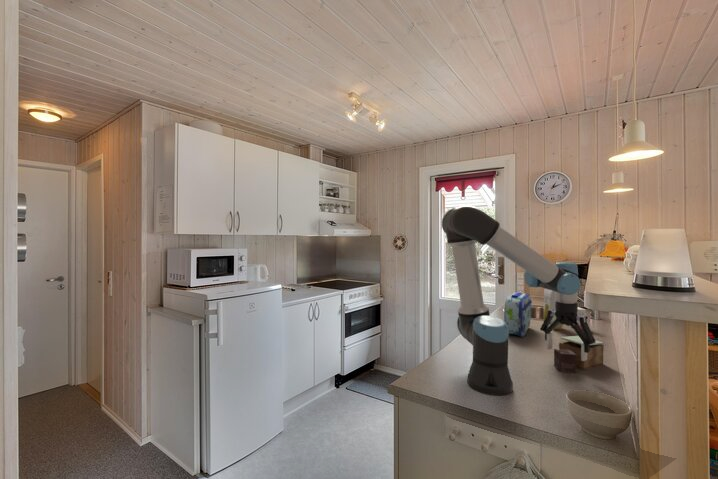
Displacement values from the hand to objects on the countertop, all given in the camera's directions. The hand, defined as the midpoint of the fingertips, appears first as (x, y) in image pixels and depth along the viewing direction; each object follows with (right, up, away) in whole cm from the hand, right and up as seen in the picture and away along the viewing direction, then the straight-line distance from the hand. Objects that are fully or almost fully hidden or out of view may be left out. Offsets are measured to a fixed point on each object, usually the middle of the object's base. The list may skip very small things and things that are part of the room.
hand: (566, 354), depth 133 cm
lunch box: (+5, -5, +50) cm, 51 cm away
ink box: (+42, -5, +57) cm, 71 cm away
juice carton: (+29, -5, +59) cm, 65 cm away
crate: (+11, -6, +7) cm, 14 cm away
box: (-1, -6, 0) cm, 6 cm away
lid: (+11, +3, +7) cm, 13 cm away
